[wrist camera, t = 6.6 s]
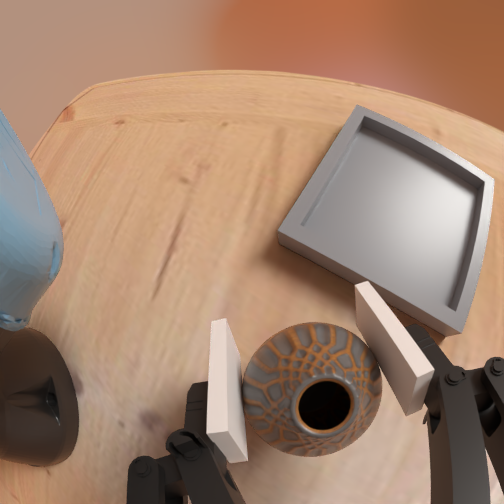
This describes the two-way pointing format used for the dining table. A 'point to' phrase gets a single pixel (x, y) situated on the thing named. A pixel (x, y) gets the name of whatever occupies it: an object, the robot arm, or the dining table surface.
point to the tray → (396, 219)
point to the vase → (312, 389)
